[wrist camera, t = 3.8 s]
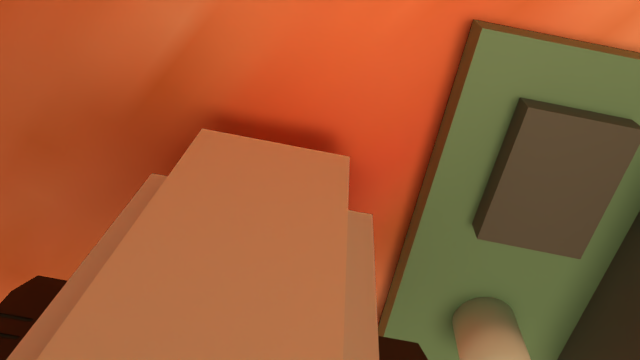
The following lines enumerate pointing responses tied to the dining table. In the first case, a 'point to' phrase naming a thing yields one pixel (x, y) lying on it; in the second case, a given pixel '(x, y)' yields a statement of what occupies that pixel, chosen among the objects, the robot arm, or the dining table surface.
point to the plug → (225, 262)
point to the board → (528, 207)
